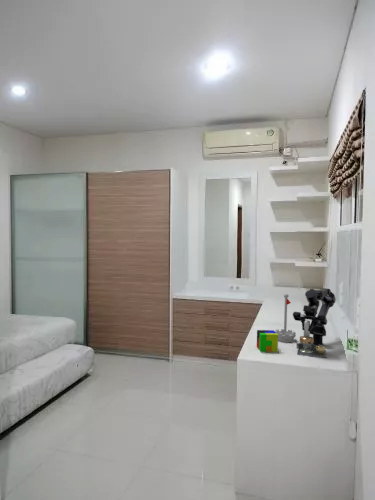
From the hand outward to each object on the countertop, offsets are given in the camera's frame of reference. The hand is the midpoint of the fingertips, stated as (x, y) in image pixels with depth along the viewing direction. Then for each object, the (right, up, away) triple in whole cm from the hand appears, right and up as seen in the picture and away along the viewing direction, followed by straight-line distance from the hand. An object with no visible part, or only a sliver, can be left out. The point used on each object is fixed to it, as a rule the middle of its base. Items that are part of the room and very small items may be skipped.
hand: (306, 330), depth 214 cm
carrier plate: (+4, -13, +1) cm, 14 cm away
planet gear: (+1, -7, +2) cm, 7 cm away
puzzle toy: (-21, -13, +7) cm, 25 cm away
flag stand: (-5, -12, +28) cm, 31 cm away
